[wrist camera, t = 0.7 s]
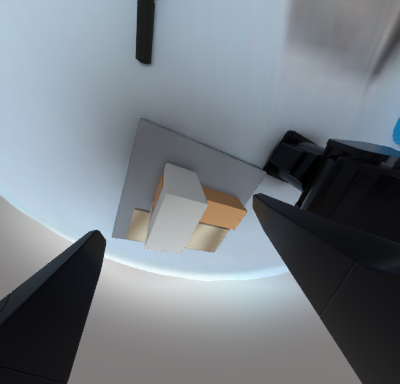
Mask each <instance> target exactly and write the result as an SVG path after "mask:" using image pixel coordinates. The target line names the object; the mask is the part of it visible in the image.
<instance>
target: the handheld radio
mask: <svg viewBox="0 0 400 384" xmlns="http://www.w3.org/2000/svg"><path fill="white" fill-rule="evenodd" d="M154 8H155V3H154V0H138V1H137V33H136V59H137V60H138V61H140V62H141V63H144V64H151V53H152V38H153V23H154Z"/></svg>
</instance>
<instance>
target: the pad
mask: <svg viewBox="0 0 400 384" xmlns="http://www.w3.org/2000/svg"><path fill="white" fill-rule="evenodd" d="M149 216H150V211H148V210H143V209H139V208H135V209H134V212H133V216H132V219H131V222H130V226H129V229H128V232H127V236H126V239H128V240H135V241H142V242H145V241H146V235H147V229H148V222H149ZM228 232H229V228H224V227H220V226H215V225H211V224H206V223H202V222H199V223H198V224H197V226H196V228H195V230H194V232H193V233H192V235H191V237H190V239H189V241H188V242H187V244H186V246H185V248H189V249H195V250H202V251H209V252H215V251H216V249H217V248H218V246H219V245H220V243H221V242H222V241H223V239H224V238H225V236H226V235H227V233H228Z"/></svg>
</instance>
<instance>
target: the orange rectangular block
mask: <svg viewBox="0 0 400 384" xmlns="http://www.w3.org/2000/svg"><path fill="white" fill-rule="evenodd" d="M163 181H164V174H162V176H161V179H160V182H159V185H158V187H157V190H156V193H155V196H154V204H153V212H154V209H155V207H156V204H157V201H158V198H159V196H160V193H161V190H162V188H163ZM201 187H202V186H201ZM202 189H203V192H204V195H205V197H206V200H207V202H208V206H207V208H206V210H205V212H204V213H203V215H202V217H201V219H200V221H199V222H202V223H207V224H211V225H216V226H220V227H225V228H229V229H234V230H235V228H236V227H237V226H238V224H239V223H240V221H241V220H242V219H243V217H244V216H245V214H246V213H247V210H246V209H245V207H244V206H243V205H242V203H241V202H240V200H239V199H238V198H237V197H234V196H231V195H228V194H225V193H221V192H218V191H215V190H212V189H209V188H206V187H202Z"/></svg>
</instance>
